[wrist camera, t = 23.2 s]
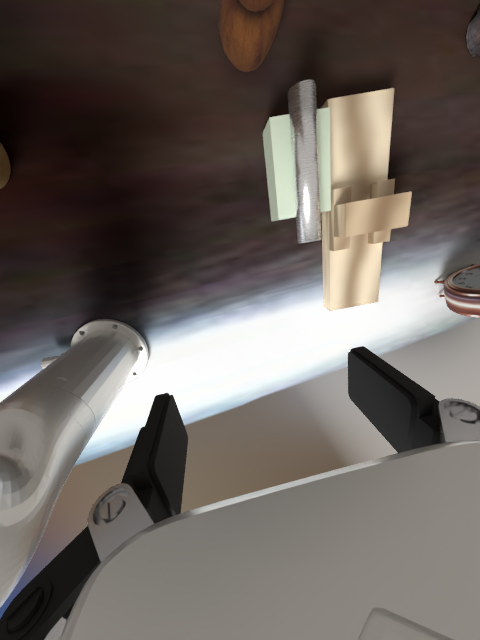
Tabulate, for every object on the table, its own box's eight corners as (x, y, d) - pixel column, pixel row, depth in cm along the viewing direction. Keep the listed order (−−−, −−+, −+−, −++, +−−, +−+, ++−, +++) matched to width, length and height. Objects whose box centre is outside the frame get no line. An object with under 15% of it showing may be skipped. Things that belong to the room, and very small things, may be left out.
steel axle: (315, 239, 31) (325, 239, 29) (294, 243, 31) (302, 243, 28) (309, 95, 26) (320, 77, 23) (284, 99, 26) (292, 81, 23)
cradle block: (271, 221, 34) (278, 219, 30) (262, 133, 30) (269, 117, 26) (317, 213, 34) (330, 210, 30) (314, 124, 30) (330, 107, 26)
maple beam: (323, 306, 40) (344, 320, 33) (319, 109, 29) (348, 74, 23) (368, 297, 40) (398, 310, 34) (380, 99, 30) (426, 61, 23)
